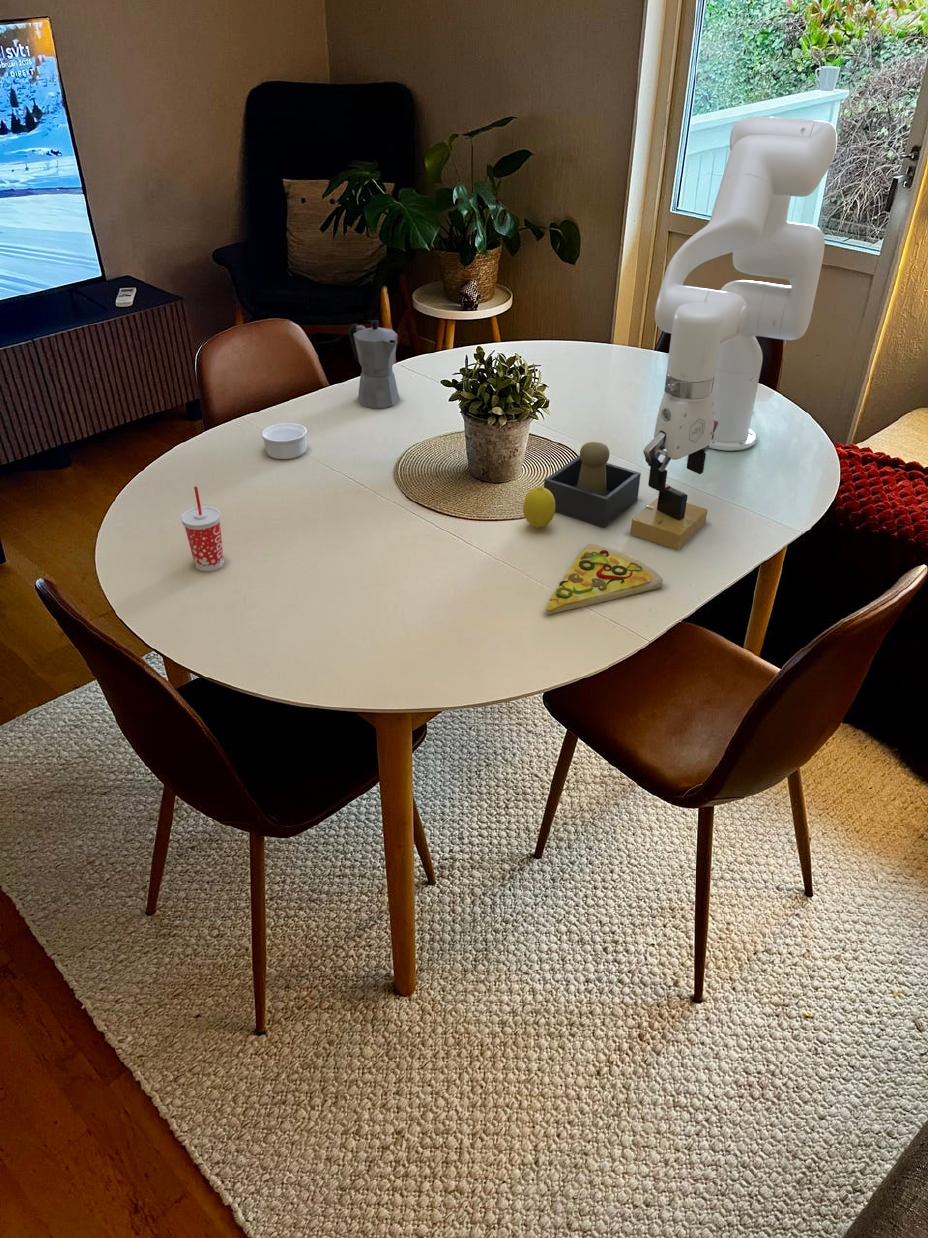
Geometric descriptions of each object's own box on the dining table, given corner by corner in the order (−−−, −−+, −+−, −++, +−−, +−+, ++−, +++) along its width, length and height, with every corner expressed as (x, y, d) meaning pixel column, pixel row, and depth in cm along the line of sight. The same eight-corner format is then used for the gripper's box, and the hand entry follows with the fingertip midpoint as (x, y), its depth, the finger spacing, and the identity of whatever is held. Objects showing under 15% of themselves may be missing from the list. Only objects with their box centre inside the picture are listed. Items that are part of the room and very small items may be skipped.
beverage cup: (209, 577, 152) (195, 500, 144) (182, 566, 155) (166, 490, 147) (236, 560, 157) (224, 484, 149) (209, 550, 159) (195, 474, 151)
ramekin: (255, 456, 189) (252, 436, 186) (278, 439, 195) (276, 419, 193) (294, 464, 186) (292, 443, 183) (317, 446, 193) (315, 426, 190)
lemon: (557, 523, 167) (560, 482, 163) (549, 538, 163) (552, 496, 158) (527, 517, 169) (529, 477, 164) (518, 532, 165) (520, 491, 160)
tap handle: (684, 518, 163) (688, 493, 160) (678, 520, 162) (682, 495, 159) (662, 507, 166) (665, 482, 163) (656, 509, 165) (659, 485, 162)
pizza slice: (668, 584, 151) (671, 568, 150) (584, 637, 140) (586, 620, 138) (593, 547, 160) (594, 532, 159) (508, 594, 149) (508, 578, 147)
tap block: (658, 509, 172) (660, 493, 170) (705, 524, 167) (708, 508, 165) (629, 534, 164) (631, 518, 162) (678, 550, 160) (680, 534, 158)
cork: (605, 510, 170) (611, 453, 164) (572, 507, 171) (576, 450, 165) (608, 494, 175) (614, 439, 168) (575, 491, 176) (580, 436, 169)
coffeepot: (414, 403, 211) (412, 322, 200) (381, 415, 205) (377, 332, 195) (369, 384, 220) (365, 306, 209) (337, 395, 214) (331, 315, 204)
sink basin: (578, 481, 180) (580, 454, 177) (637, 500, 174) (641, 472, 171) (542, 507, 172) (544, 479, 169) (603, 528, 166) (606, 499, 163)
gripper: (670, 406, 145) (658, 504, 155) (742, 377, 153) (725, 472, 164) (634, 391, 149) (624, 487, 160) (705, 363, 158) (691, 457, 168)
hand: (675, 479), depth 162 cm, fingers open, 9 cm apart
